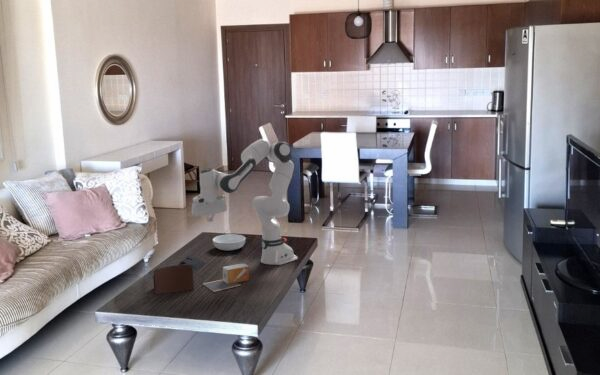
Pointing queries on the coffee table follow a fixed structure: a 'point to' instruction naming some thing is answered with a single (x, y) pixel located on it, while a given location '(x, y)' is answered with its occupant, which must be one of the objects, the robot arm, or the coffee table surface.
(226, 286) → the mat
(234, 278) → the small box
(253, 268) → the coffee table surface
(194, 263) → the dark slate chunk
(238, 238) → the serving bowl
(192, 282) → the letter holder
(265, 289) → the coffee table surface
